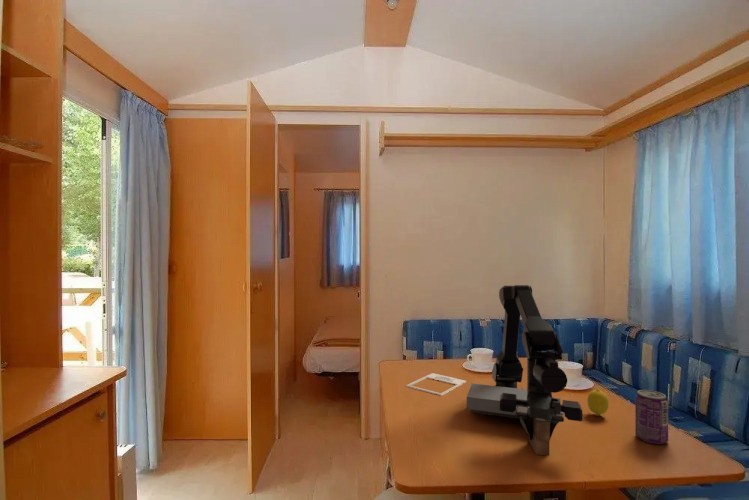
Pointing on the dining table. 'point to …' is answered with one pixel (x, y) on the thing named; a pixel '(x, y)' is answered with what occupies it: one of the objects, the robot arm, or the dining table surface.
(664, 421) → the beverage can
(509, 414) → the grey rectangular block
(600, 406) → the lemon
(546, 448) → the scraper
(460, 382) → the photo frame
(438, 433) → the dining table surface
